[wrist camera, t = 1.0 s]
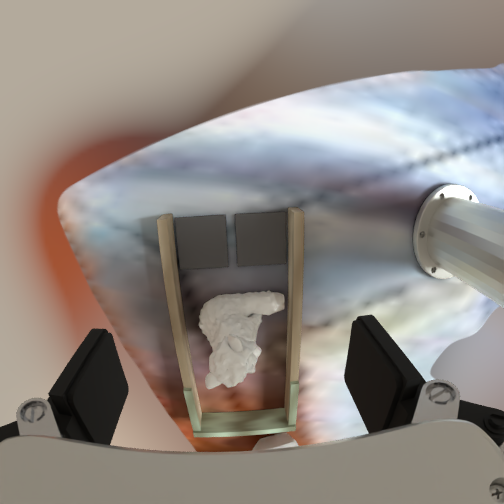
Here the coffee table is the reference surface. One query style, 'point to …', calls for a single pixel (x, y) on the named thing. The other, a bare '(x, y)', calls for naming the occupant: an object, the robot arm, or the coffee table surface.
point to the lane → (286, 417)
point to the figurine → (275, 442)
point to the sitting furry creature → (235, 333)
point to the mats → (247, 238)
